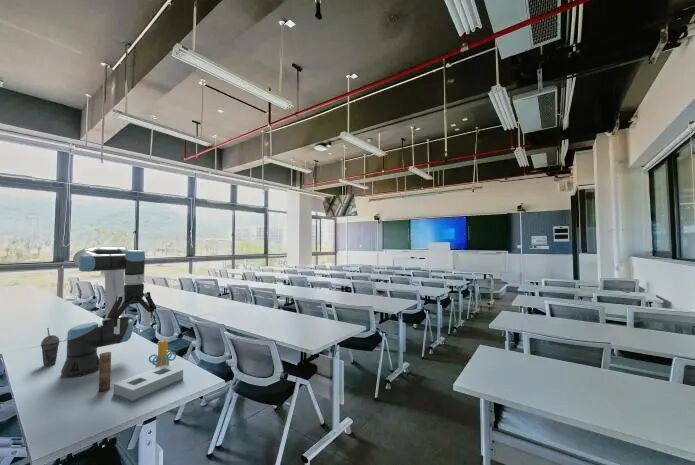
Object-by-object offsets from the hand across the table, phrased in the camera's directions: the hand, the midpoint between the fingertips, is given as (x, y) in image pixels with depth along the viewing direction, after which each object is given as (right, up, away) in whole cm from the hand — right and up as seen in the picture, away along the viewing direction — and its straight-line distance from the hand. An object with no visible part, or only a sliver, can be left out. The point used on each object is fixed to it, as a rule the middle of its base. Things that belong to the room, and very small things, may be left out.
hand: (132, 329), depth 137 cm
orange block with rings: (+5, -26, +14) cm, 30 cm away
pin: (-8, -25, -6) cm, 27 cm away
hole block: (+10, -25, -4) cm, 27 cm away
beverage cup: (-61, -27, +22) cm, 71 cm away
